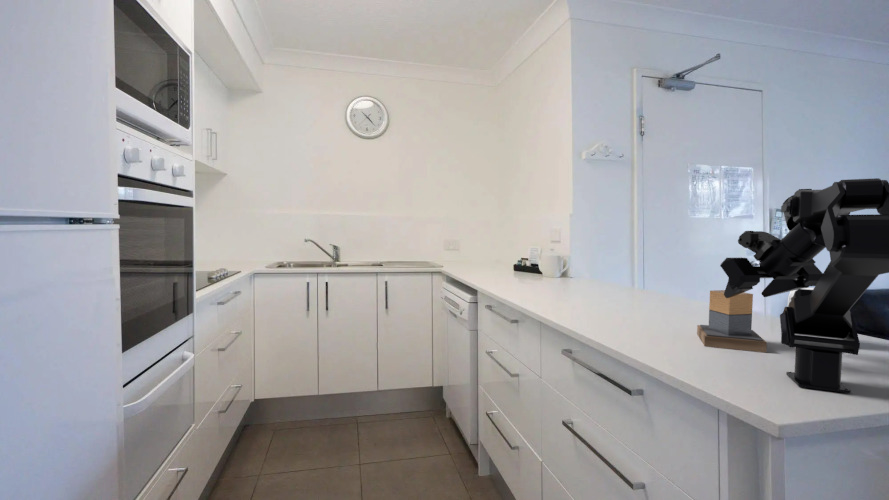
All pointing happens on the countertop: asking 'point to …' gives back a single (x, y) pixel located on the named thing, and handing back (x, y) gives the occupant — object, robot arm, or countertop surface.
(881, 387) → the countertop surface
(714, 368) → the countertop surface
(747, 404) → the countertop surface
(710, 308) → the tan and grey block
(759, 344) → the walnut stand
